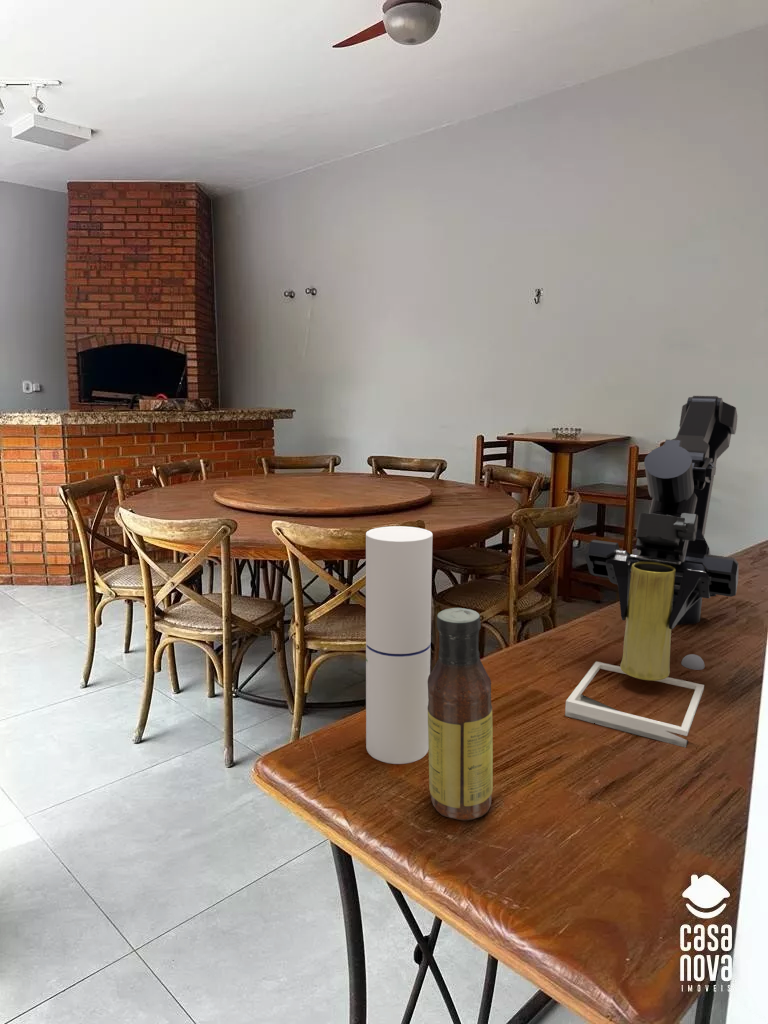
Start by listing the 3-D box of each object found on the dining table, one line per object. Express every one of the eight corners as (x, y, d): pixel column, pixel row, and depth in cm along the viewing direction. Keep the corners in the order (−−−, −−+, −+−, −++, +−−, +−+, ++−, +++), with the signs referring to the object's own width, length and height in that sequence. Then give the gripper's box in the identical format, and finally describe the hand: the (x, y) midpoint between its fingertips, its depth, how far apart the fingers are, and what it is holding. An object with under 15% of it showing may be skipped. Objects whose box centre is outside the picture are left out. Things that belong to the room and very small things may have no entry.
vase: (675, 682, 87) (685, 574, 84) (625, 680, 88) (634, 572, 85) (662, 662, 93) (671, 561, 90) (615, 660, 94) (623, 559, 91)
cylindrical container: (384, 770, 74) (385, 544, 69) (355, 739, 80) (354, 530, 75) (440, 753, 77) (445, 537, 72) (409, 725, 83) (411, 523, 78)
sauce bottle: (490, 787, 71) (497, 604, 67) (493, 826, 65) (501, 627, 61) (426, 783, 71) (430, 601, 67) (424, 822, 65) (427, 624, 61)
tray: (595, 674, 97) (596, 661, 97) (702, 699, 90) (704, 685, 90) (565, 715, 85) (565, 700, 85) (685, 747, 78) (687, 731, 78)
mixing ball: (687, 668, 99) (689, 649, 99) (707, 675, 97) (709, 655, 96) (676, 674, 97) (678, 654, 97) (696, 681, 95) (698, 661, 95)
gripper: (592, 482, 94) (563, 580, 87) (745, 495, 84) (726, 606, 77) (603, 527, 102) (577, 620, 95) (744, 544, 92) (727, 648, 85)
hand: (646, 623), depth 88 cm, fingers closed on vase, 5 cm apart
